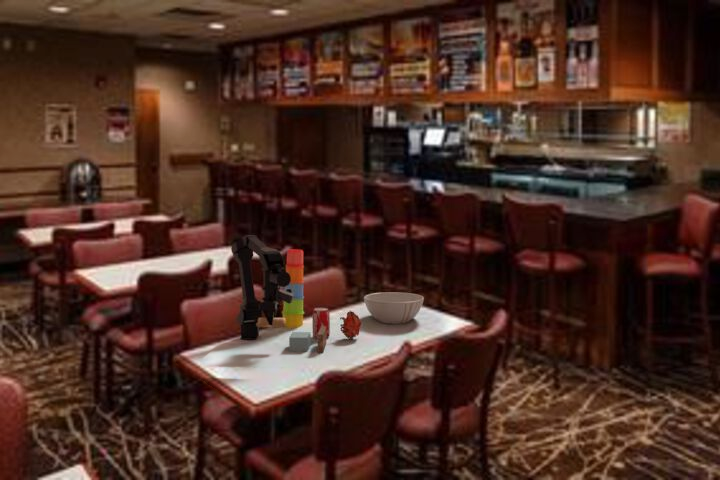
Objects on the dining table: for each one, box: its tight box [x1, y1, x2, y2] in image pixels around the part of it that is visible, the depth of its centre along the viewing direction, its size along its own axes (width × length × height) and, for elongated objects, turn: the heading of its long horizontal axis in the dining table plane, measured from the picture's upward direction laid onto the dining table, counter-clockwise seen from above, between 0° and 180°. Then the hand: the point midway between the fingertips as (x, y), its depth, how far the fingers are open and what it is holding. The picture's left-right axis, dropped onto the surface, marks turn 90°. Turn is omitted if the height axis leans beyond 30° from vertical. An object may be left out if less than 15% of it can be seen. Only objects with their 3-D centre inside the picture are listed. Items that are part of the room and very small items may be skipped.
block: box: [288, 331, 311, 352], centre depth 261 cm, size 7×9×5 cm
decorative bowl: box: [363, 291, 425, 325], centre depth 304 cm, size 27×27×12 cm
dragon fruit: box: [339, 309, 362, 340], centre depth 275 cm, size 8×8×12 cm
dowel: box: [258, 317, 286, 328], centre depth 259 cm, size 10×4×4 cm, turn 87°
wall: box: [317, 326, 327, 354], centre depth 261 cm, size 2×14×7 cm, turn 178°
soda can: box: [311, 307, 331, 340], centre depth 278 cm, size 7×7×12 cm
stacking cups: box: [281, 248, 305, 329], centre depth 293 cm, size 10×10×35 cm
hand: (271, 323), depth 259 cm, fingers closed on dowel, 4 cm apart
